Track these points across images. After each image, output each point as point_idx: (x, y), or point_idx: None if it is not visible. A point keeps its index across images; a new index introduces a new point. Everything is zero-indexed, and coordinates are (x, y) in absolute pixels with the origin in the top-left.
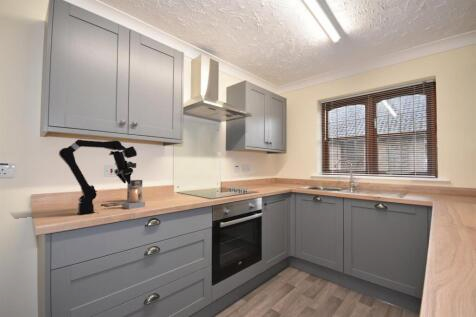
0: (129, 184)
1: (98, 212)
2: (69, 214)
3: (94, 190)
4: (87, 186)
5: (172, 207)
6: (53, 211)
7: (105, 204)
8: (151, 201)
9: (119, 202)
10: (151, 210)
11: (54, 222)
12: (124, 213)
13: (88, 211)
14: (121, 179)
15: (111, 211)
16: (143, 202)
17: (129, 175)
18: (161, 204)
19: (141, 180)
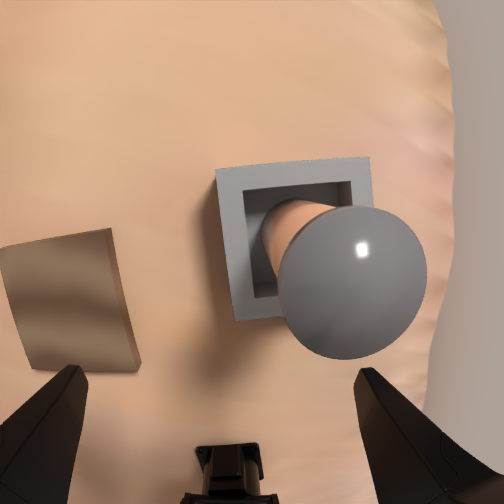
0: None
1: (251, 424)
2: (201, 493)
3: None
4: None
5: (440, 39)
6: (84, 495)
7: (55, 356)
8: (67, 22)
9: (21, 259)
10: (448, 172)
11: None
12: (407, 328)
13: (256, 465)
14: (70, 467)
15: (279, 373)
16: (369, 174)
17: (482, 490)
18: (273, 5)
19: None
